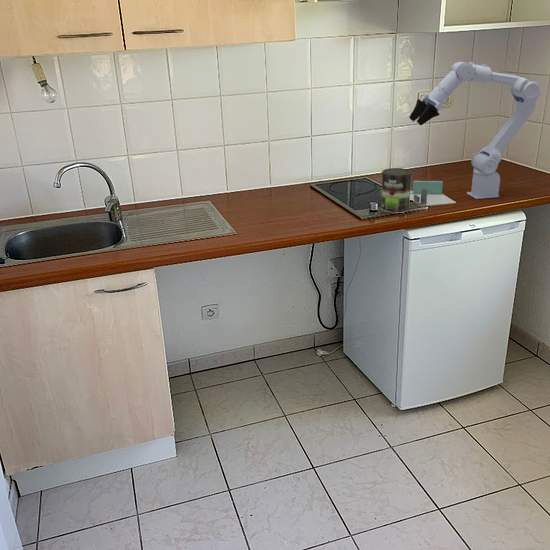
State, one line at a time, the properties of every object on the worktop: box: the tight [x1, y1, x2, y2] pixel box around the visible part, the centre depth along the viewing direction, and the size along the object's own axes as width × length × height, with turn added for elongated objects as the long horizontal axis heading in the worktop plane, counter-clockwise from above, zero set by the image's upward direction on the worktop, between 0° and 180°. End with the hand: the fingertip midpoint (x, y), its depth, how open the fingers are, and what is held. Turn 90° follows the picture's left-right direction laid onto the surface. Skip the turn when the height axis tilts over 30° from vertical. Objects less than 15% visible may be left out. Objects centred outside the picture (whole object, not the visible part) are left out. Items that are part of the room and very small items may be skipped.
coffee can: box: [380, 167, 413, 214], centre depth 207 cm, size 10×10×14 cm
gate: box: [411, 180, 443, 194], centre depth 225 cm, size 2×11×4 cm, turn 80°
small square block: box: [414, 188, 428, 205], centre depth 215 cm, size 3×6×6 cm, turn 10°
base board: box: [410, 190, 457, 207], centre depth 222 cm, size 15×19×1 cm
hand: (414, 121), depth 207 cm, fingers open, 7 cm apart
